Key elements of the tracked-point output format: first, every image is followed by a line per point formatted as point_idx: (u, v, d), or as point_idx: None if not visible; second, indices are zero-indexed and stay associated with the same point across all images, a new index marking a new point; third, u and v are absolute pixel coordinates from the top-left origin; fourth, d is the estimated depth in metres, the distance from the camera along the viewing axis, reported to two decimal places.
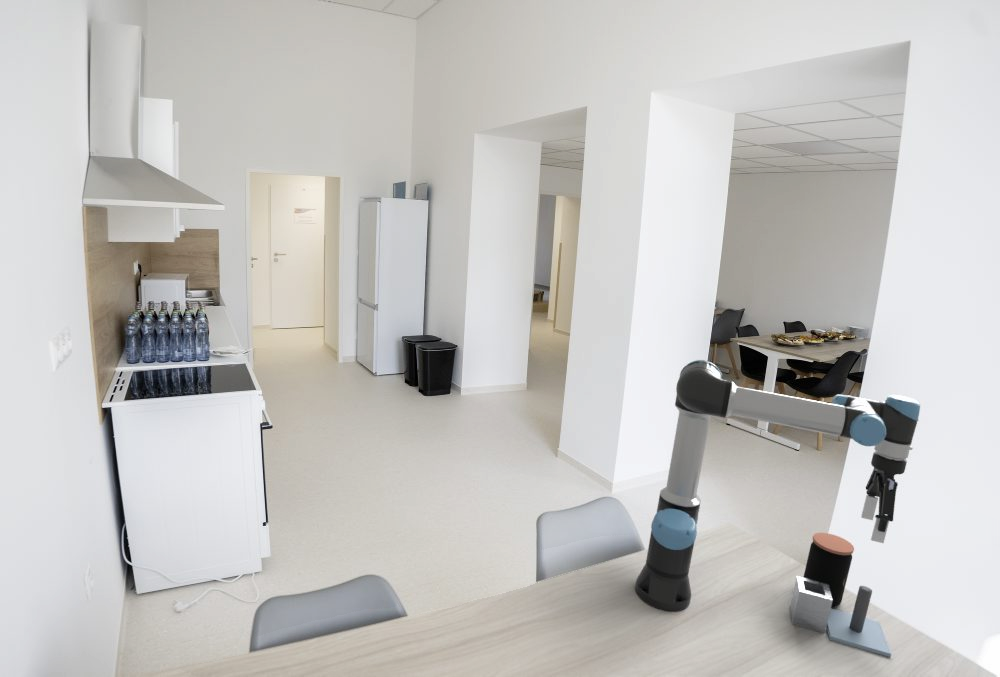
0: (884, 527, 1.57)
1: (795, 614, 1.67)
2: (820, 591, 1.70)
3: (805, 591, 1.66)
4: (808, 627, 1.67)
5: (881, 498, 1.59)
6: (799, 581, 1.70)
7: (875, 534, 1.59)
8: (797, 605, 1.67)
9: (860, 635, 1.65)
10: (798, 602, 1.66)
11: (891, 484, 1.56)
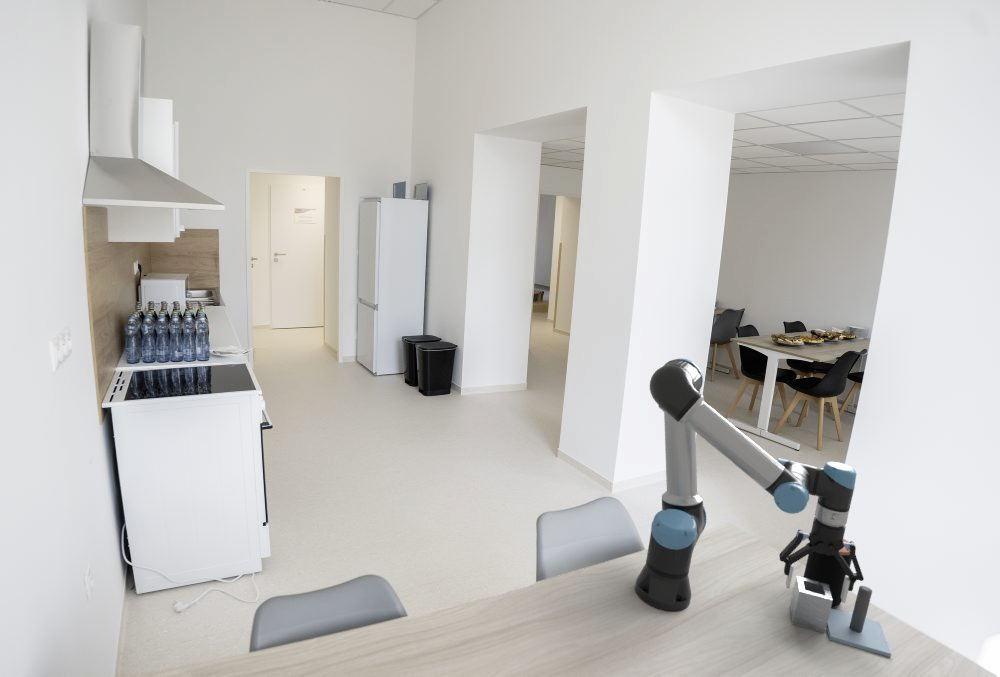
0: (784, 569, 1.70)
1: (795, 614, 1.67)
2: (820, 591, 1.70)
3: (805, 591, 1.66)
4: (808, 627, 1.67)
5: None
6: (799, 581, 1.70)
7: (787, 577, 1.71)
8: (797, 605, 1.67)
9: (860, 635, 1.65)
10: (798, 602, 1.66)
11: (797, 533, 1.68)
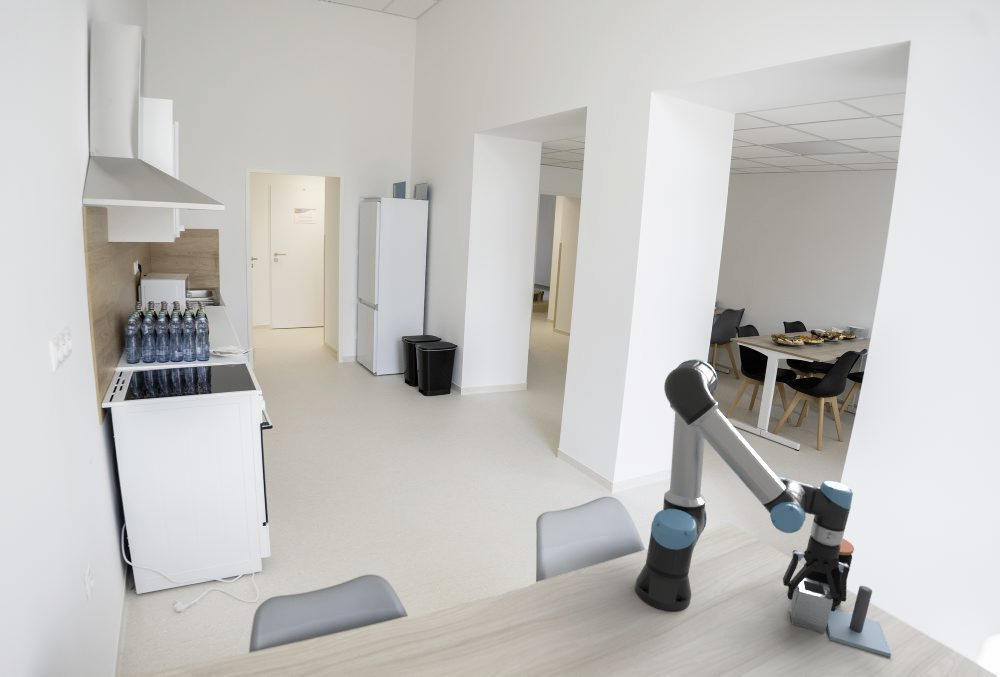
0: (788, 593, 1.71)
1: (795, 614, 1.67)
2: (820, 591, 1.70)
3: (805, 591, 1.66)
4: (808, 627, 1.67)
5: (800, 570, 1.70)
6: None
7: (790, 601, 1.72)
8: (797, 605, 1.67)
9: (860, 635, 1.65)
10: (798, 602, 1.66)
11: (793, 554, 1.69)
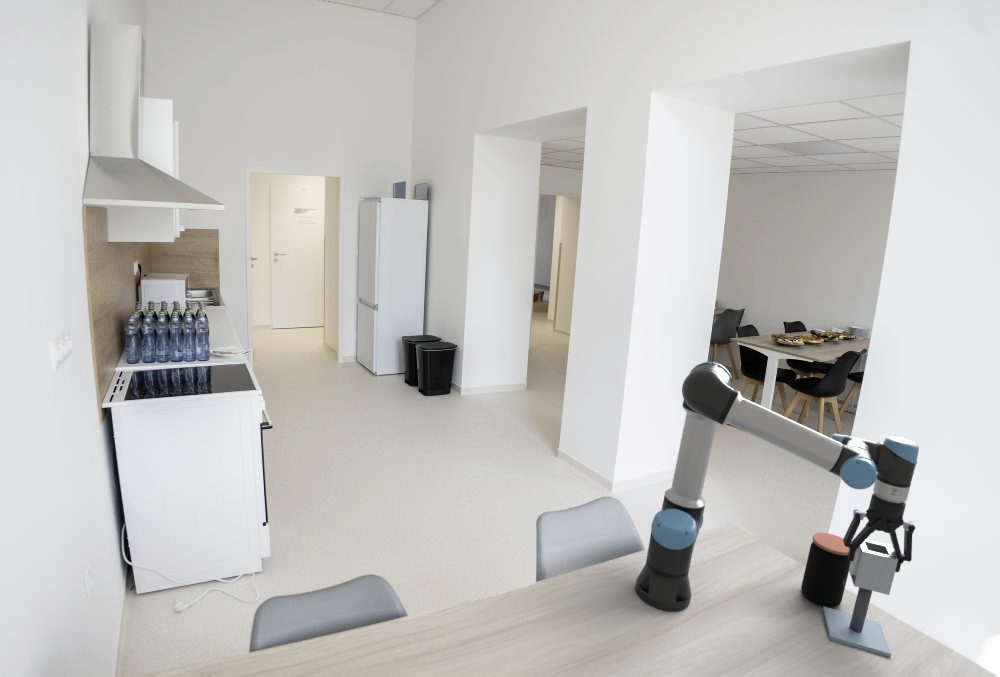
0: (849, 555, 1.64)
1: (858, 575, 1.61)
2: (882, 552, 1.64)
3: (868, 551, 1.60)
4: (871, 589, 1.60)
5: None
6: None
7: (850, 563, 1.66)
8: (860, 566, 1.60)
9: (860, 635, 1.65)
10: (861, 563, 1.60)
11: (854, 514, 1.63)
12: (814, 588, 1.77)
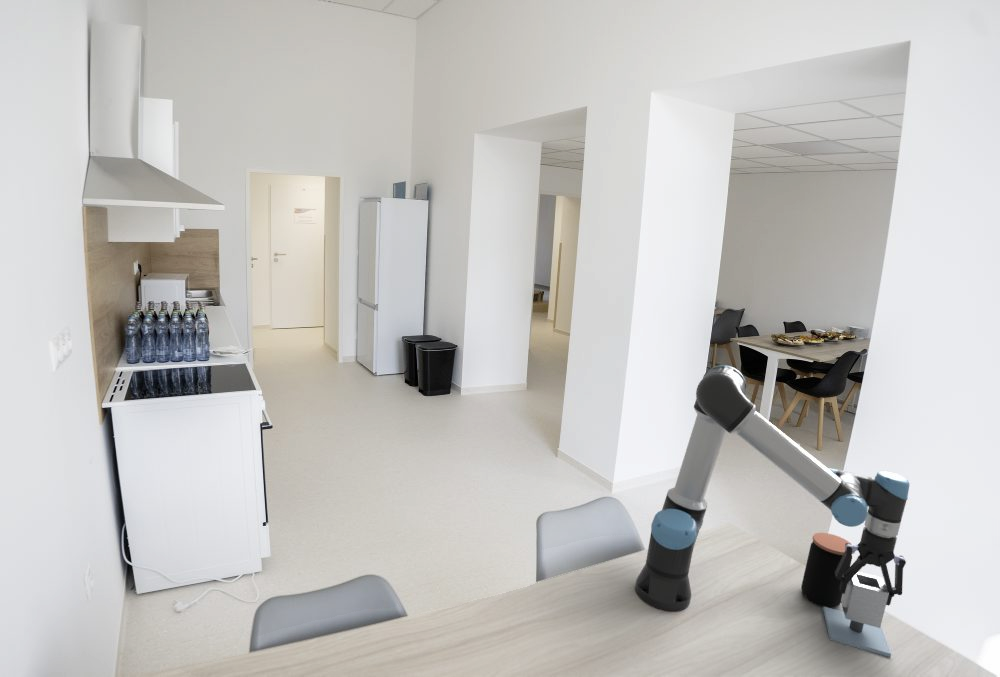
0: (840, 587, 1.66)
1: (849, 608, 1.63)
2: (874, 585, 1.66)
3: (859, 584, 1.62)
4: (863, 621, 1.62)
5: (853, 563, 1.66)
6: None
7: (842, 595, 1.68)
8: (851, 599, 1.63)
9: (860, 635, 1.65)
10: (852, 596, 1.62)
11: (846, 547, 1.65)
12: (814, 588, 1.77)
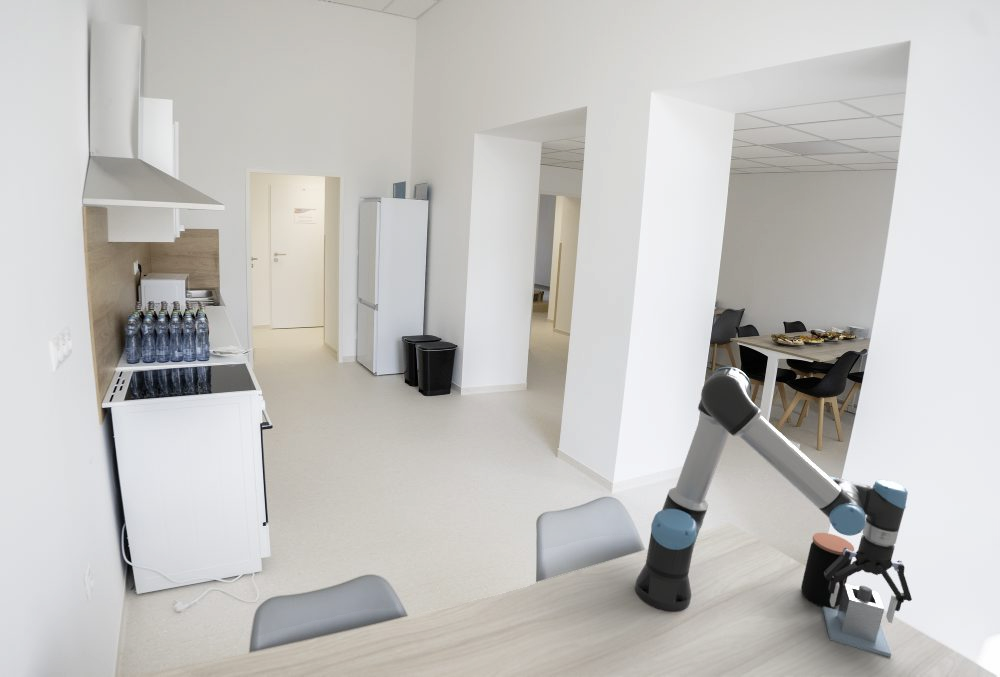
0: (829, 587, 1.67)
1: (845, 623, 1.64)
2: None
3: (855, 599, 1.63)
4: (858, 636, 1.63)
5: (846, 567, 1.67)
6: (847, 589, 1.67)
7: (831, 595, 1.69)
8: (847, 613, 1.64)
9: None
10: (848, 610, 1.63)
11: (844, 551, 1.65)
12: (815, 588, 1.77)
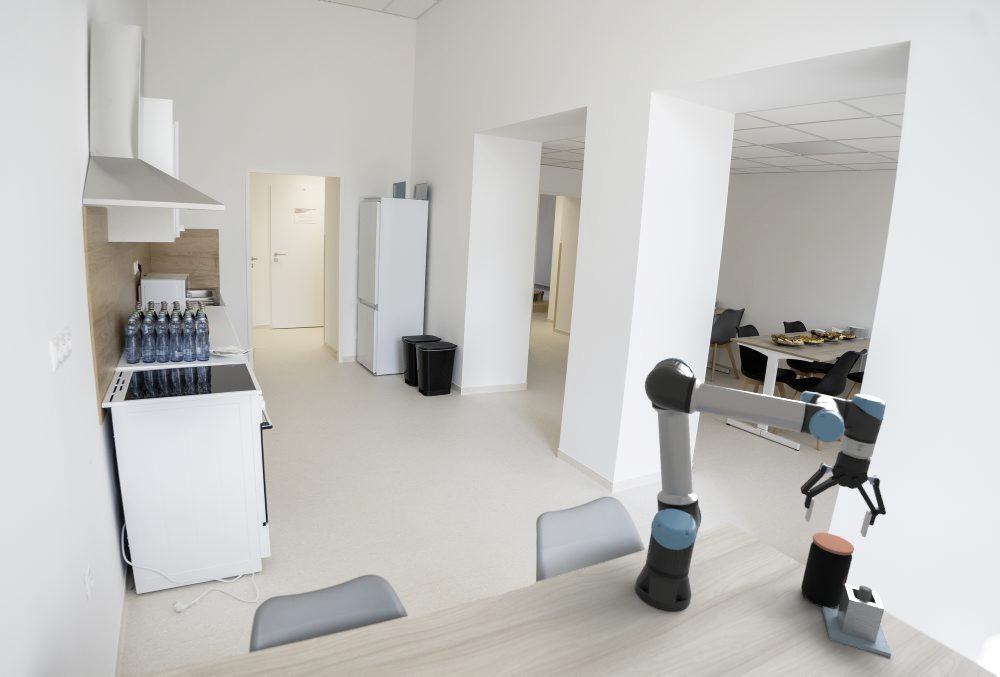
0: (805, 502, 1.68)
1: (845, 623, 1.64)
2: None
3: (855, 599, 1.63)
4: (858, 636, 1.63)
5: (822, 482, 1.67)
6: (847, 589, 1.67)
7: (807, 511, 1.70)
8: (847, 613, 1.64)
9: None
10: (848, 610, 1.63)
11: (821, 466, 1.66)
12: (815, 588, 1.77)
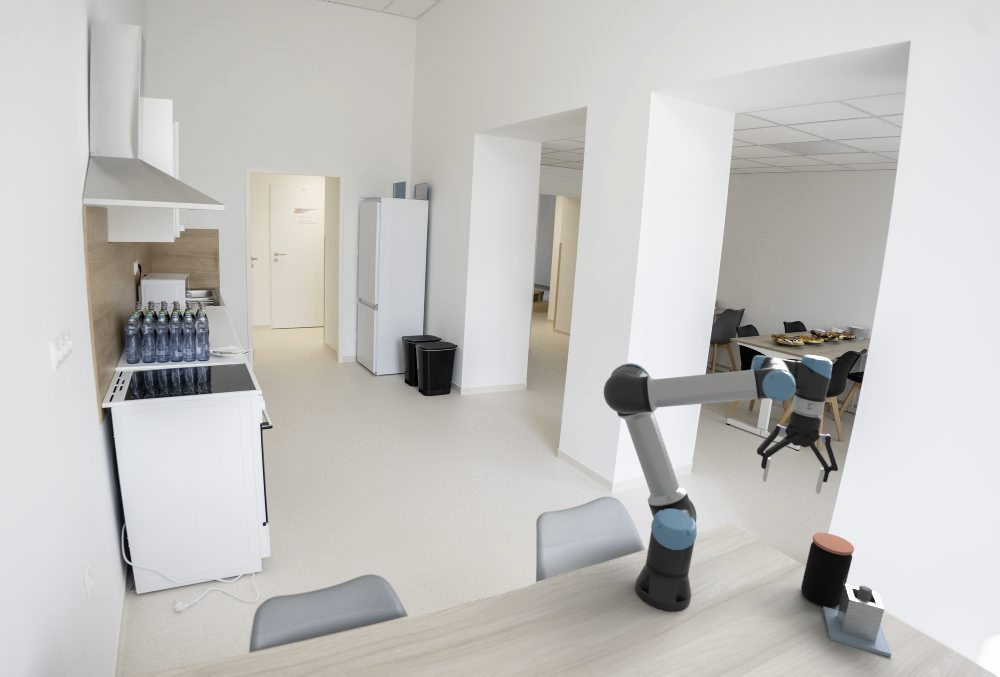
0: (761, 463, 1.73)
1: (845, 623, 1.64)
2: None
3: (855, 599, 1.63)
4: (858, 636, 1.63)
5: None
6: (847, 589, 1.67)
7: (764, 472, 1.75)
8: (847, 613, 1.64)
9: None
10: (848, 610, 1.63)
11: (775, 427, 1.71)
12: (815, 588, 1.77)
